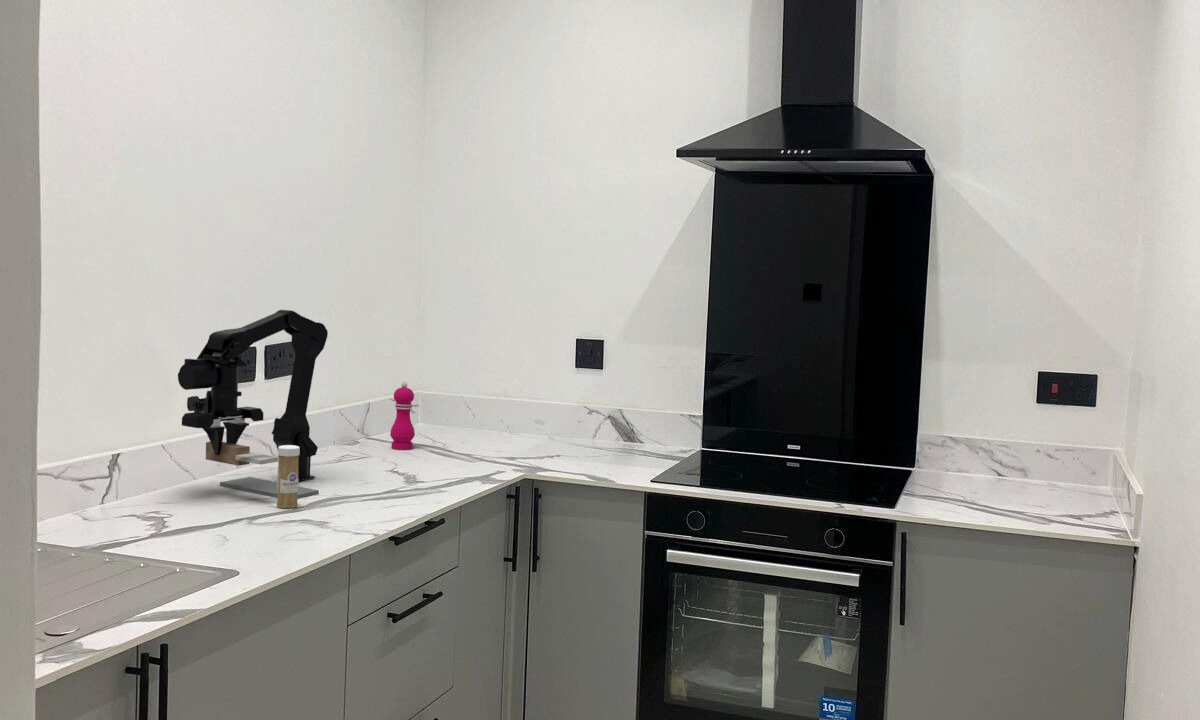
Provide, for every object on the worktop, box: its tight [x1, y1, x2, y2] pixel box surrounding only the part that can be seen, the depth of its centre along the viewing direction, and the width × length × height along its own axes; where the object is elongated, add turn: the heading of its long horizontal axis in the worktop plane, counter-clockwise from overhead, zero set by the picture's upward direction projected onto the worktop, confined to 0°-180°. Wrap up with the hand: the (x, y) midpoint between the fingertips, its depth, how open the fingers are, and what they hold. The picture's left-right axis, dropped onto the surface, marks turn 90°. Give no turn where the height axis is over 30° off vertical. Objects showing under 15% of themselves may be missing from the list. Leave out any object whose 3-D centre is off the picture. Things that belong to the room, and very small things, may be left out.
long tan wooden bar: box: [205, 441, 279, 467], centre depth 225 cm, size 19×5×4 cm, turn 61°
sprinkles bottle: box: [276, 445, 300, 509], centre depth 218 cm, size 5×5×13 cm
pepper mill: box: [389, 382, 416, 451], centre depth 297 cm, size 7×7×20 cm
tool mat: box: [219, 476, 320, 499], centre depth 233 cm, size 9×23×1 cm, turn 61°
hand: (223, 454), depth 227 cm, fingers closed on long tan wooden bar, 3 cm apart
